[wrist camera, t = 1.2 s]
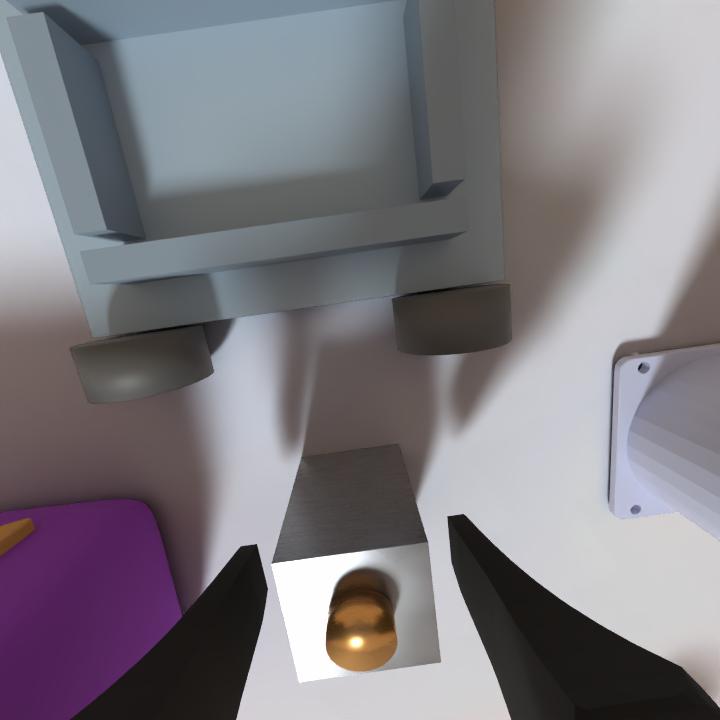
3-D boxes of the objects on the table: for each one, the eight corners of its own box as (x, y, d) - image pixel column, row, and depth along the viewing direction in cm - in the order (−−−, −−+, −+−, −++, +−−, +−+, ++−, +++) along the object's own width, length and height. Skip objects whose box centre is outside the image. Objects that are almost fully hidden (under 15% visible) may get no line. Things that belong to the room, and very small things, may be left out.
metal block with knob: (398, 443, 15) (435, 565, 9) (408, 526, 16) (448, 692, 10) (301, 456, 15) (264, 589, 9) (317, 539, 16) (295, 714, 10)
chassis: (473, -164, 11) (546, -425, 7) (495, 325, 14) (551, 340, 10) (-22, -93, 11) (-238, -313, 7) (124, 378, 14) (38, 413, 10)
